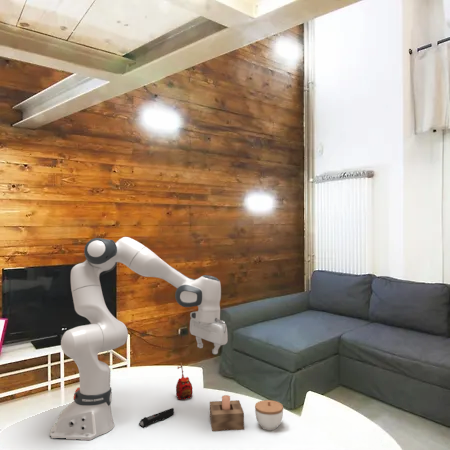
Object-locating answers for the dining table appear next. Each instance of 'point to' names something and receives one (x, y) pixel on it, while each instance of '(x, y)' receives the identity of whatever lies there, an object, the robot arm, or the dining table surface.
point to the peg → (225, 402)
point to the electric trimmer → (156, 417)
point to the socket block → (226, 416)
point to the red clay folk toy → (183, 387)
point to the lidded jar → (269, 414)
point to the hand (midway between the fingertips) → (207, 350)
